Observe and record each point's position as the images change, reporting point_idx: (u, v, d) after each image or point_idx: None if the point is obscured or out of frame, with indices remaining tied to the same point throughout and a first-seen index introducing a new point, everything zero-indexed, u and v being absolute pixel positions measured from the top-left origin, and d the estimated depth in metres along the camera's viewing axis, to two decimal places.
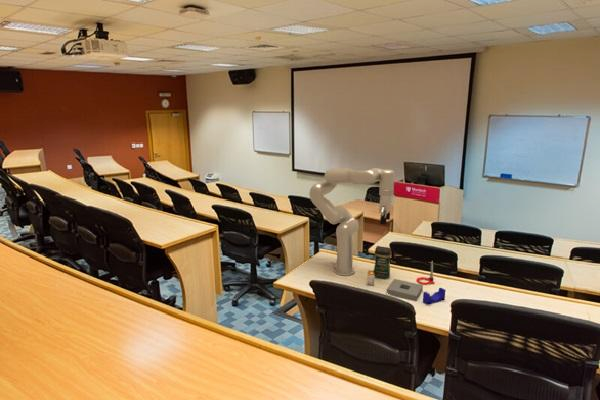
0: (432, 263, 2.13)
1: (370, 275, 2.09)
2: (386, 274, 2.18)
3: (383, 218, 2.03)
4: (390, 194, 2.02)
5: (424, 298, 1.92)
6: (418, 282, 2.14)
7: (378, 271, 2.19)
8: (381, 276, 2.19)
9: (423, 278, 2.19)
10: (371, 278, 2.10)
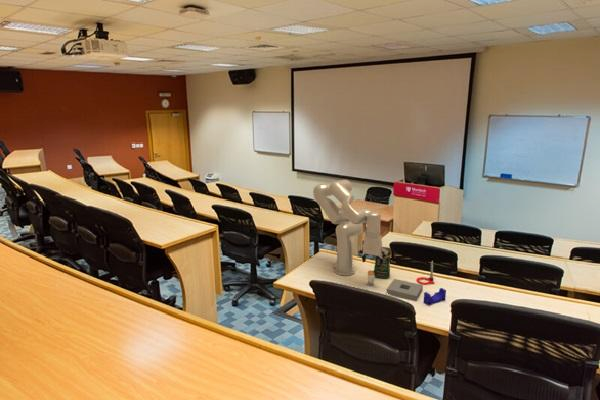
0: (432, 263, 2.13)
1: (370, 275, 2.09)
2: (386, 274, 2.18)
3: None
4: None
5: (425, 298, 1.91)
6: (418, 282, 2.14)
7: (378, 271, 2.19)
8: (381, 276, 2.19)
9: (423, 278, 2.18)
10: (371, 278, 2.10)
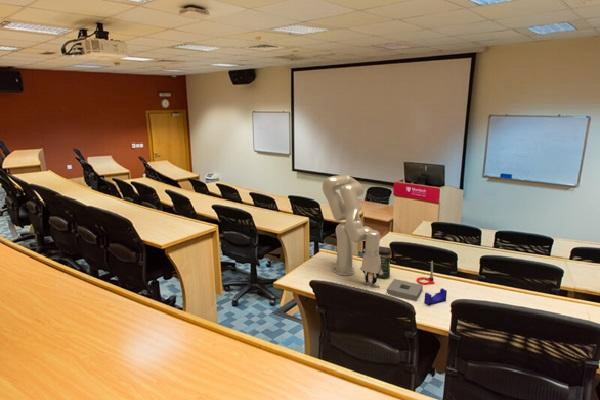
0: (432, 263, 2.13)
1: (370, 275, 2.09)
2: (386, 274, 2.18)
3: (376, 277, 2.10)
4: None
5: (425, 299, 1.91)
6: (418, 282, 2.14)
7: None
8: (381, 276, 2.19)
9: (423, 278, 2.18)
10: (371, 278, 2.10)
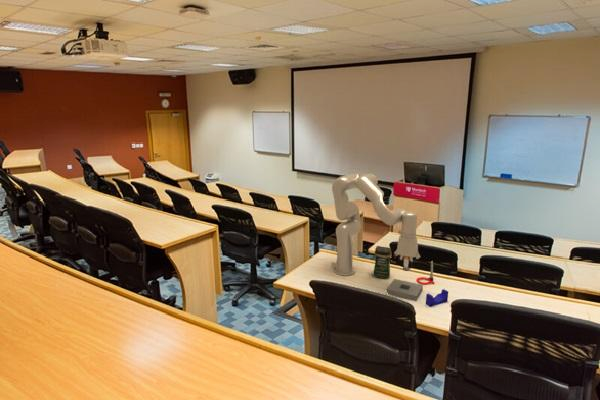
0: (432, 263, 2.13)
1: (406, 259, 1.98)
2: (386, 274, 2.18)
3: (412, 261, 1.98)
4: None
5: (427, 300, 1.90)
6: (418, 282, 2.14)
7: (378, 271, 2.19)
8: (381, 276, 2.19)
9: (423, 278, 2.18)
10: (407, 262, 1.98)
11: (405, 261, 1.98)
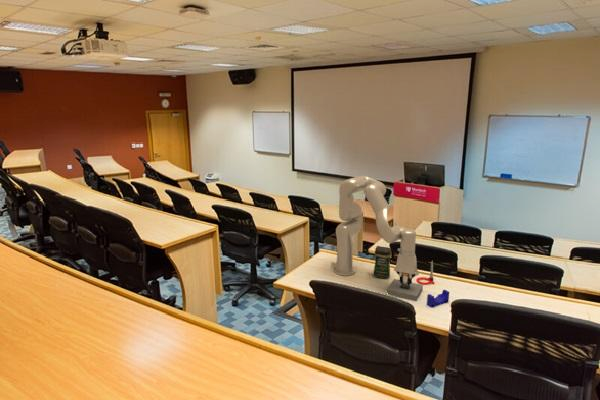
0: (432, 263, 2.13)
1: (405, 276, 2.00)
2: (386, 274, 2.18)
3: None
4: None
5: (428, 300, 1.89)
6: (418, 282, 2.14)
7: (378, 271, 2.19)
8: (381, 276, 2.19)
9: (423, 278, 2.18)
10: (406, 279, 2.00)
11: (404, 278, 2.01)
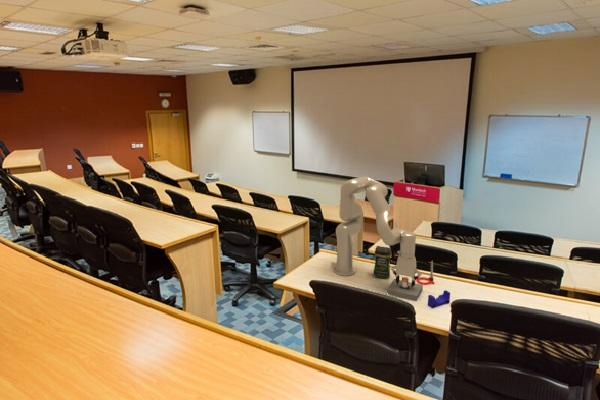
0: (432, 263, 2.13)
1: (404, 282, 2.01)
2: (386, 274, 2.18)
3: None
4: None
5: (429, 301, 1.89)
6: (418, 282, 2.14)
7: (378, 271, 2.19)
8: (381, 276, 2.19)
9: (423, 278, 2.18)
10: (405, 285, 2.01)
11: (403, 284, 2.02)
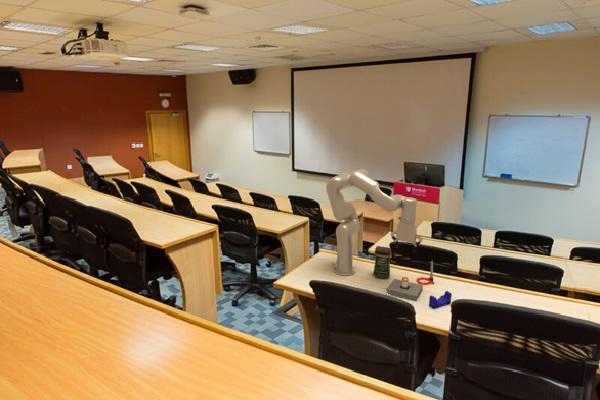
0: (432, 263, 2.13)
1: (404, 282, 2.01)
2: (386, 274, 2.18)
3: (416, 246, 2.00)
4: None
5: (430, 302, 1.88)
6: (418, 282, 2.14)
7: (378, 271, 2.19)
8: (381, 276, 2.19)
9: (423, 278, 2.18)
10: (405, 285, 2.01)
11: (403, 284, 2.02)
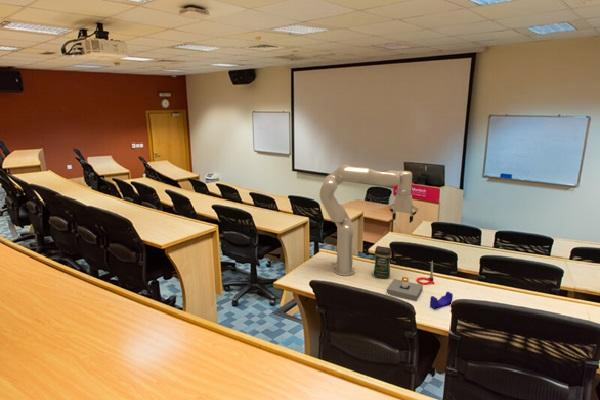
0: (432, 263, 2.13)
1: (404, 282, 2.01)
2: (386, 274, 2.18)
3: None
4: None
5: (431, 303, 1.87)
6: (418, 282, 2.14)
7: (378, 271, 2.19)
8: (381, 276, 2.19)
9: (423, 278, 2.18)
10: (405, 285, 2.01)
11: (403, 284, 2.02)
